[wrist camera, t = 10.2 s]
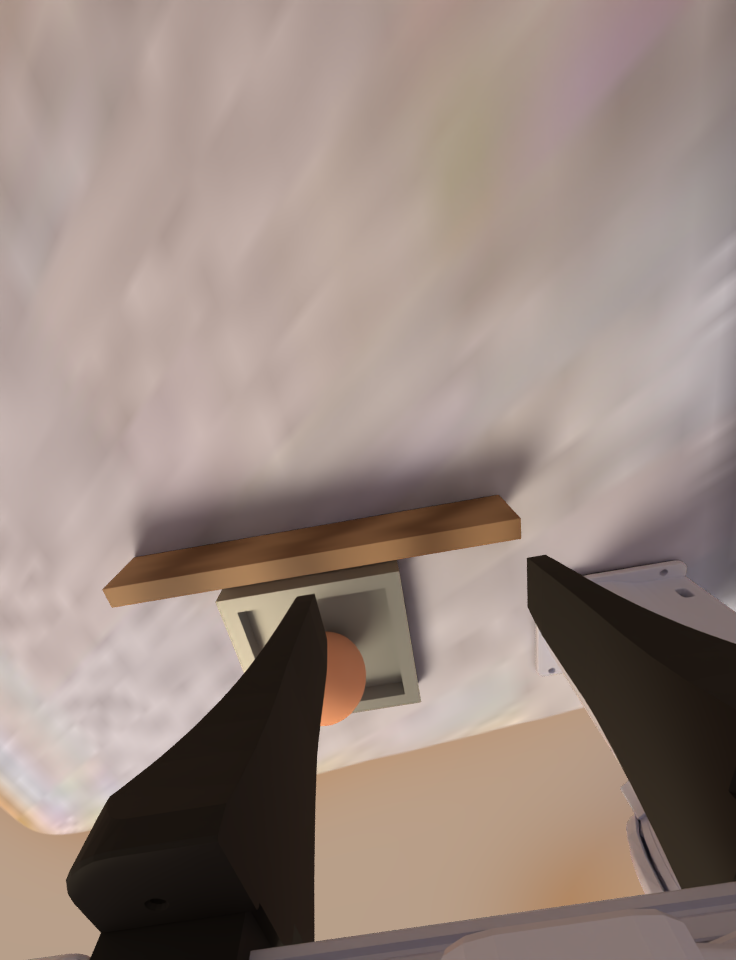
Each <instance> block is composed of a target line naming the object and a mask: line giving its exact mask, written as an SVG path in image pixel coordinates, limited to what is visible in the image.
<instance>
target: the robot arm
mask: <svg viewBox="0 0 736 960" xmlns="http://www.w3.org/2000/svg"><path fill="white" fill-rule="evenodd" d="M661 570H662V571H661ZM660 571H661V572H660ZM686 571H687V565H686V564H685V563H683V562H682V561H680V560H675V561H669V562H663V563H657V564H651V565H645V566H639V567H633V568H627V569H621V570H615V571H609V572H603V573H597V574H591V575H584V576H582V575H580V574H579V573H577V572H575V571H573V570H572V569H570V568H568V567H566V566H565V565H563V564H561V563H559V562H558V561H556V560H554V559H552V558H550V557H548V556H547V555H542V556H536V557H530V558H527V594H528V609H529V611H530V613H531V615H532V617H533V619H534V621H535V656H536V671H537V673H538V675H539V676H550V675H557V674H564V676H565V678H566V679H567V681H568V682H569V684H570V686H571V687H572V689H573V690H574V692H575V693H576V695H577V697H578V698H579V700H580V701H581V703H582V705H583V706H584V708H585V709H586V711H587V713H588V714H589V716H590V717H591V719H592V721H593V722H594V724H595V725H596V727H597V729H598V730H599V732H600V733H601V735H602V737H603V738H604V740H605V741H606V743H607V744H608V746H609V748H610V749H611V751H612V753H613V754H614V756H615V757H616V759H617V761H618V762H619V764H620V765H621V767H622V769H623V770H624V772H625V774H626V776H627V778H628V781H627V782H626V783H625V784H624V785H622V786H621V788H620V789H621V791H622V793H623V795H624V796H625V798H626V799H627V801H628V803H629V804H630V806H631V808H632V810H633V811H634V813H635V814H634V815H632V816H631V817H630V818H629V820H628V821H627V827H626V830H627V838H628V842H629V846H630V853H631V858H632V862H633V865H634V868H635V871H636V874H637V876H638V878H639V881H640V884H641V886H642V888H643V890H644V892H645V895H638V896H631V897H624V898H617V899H610V900H603V901H596V902H589V903H582V904H575V905H568V906H561V907H554V908H547V909H540V910H533V911H526V912H519V913H512V914H505V915H498V916H491V917H485V918H477V919H470V920H463V921H456V922H449V923H442V924H435V925H428V926H421V927H414V928H407V929H400V930H393V931H386V932H379V933H372V934H365V935H358V936H351V937H344V938H338V939H330V940H323V941H316V942H314V854H315V850H314V849H315V796H316V770H317V751H318V740H319V732H320V724H321V716H322V708H323V700H324V692H325V684H326V676H327V636H326V633H325V629H324V626H323V622H322V618H321V615H320V611H319V608H318V604H317V600H316V597H315V593H314V594H309V595H303V596H297V597H296V598H295V600H294V601H293V603H292V605H291V606H290V608H289V609H288V611H287V613H286V614H285V616H284V617H283V619H282V620H281V622H280V624H279V625H278V627H277V628H276V630H275V631H274V633H273V634H272V636H271V637H270V639H269V640H268V642H267V643H266V645H265V646H264V647H263V649H262V650H261V652H260V653H259V654H258V656H257V657H256V658H255V660H254V661H253V662H252V664H251V665H250V666H249V668H248V669H247V670H246V671H245V673H244V674H243V675H242V676H241V678H240V679H239V680H238V681H237V683H236V684H235V685H234V686H233V687H232V688H231V689H230V691H229V692H228V693H227V694H226V695H225V696H224V697H223V698H222V699H221V700H220V701H219V702H218V703H217V704H216V705H215V707H214V708H213V709H212V710H211V711H210V712H209V713H208V714H207V715H206V716H205V717H204V718H203V719H202V720H201V721H200V722H199V723H198V724H197V725H196V726H195V727H194V728H192V729H191V730H190V731H189V732H188V733H187V734H186V735H185V736H184V737H183V738H182V739H180V740H179V741H178V742H177V743H176V744H175V745H174V746H173V747H171V748H170V749H169V750H168V751H167V752H166V753H164V754H163V755H162V756H161V757H160V758H159V759H157V760H156V761H155V762H154V763H153V764H151V765H150V766H149V767H148V768H146V769H145V770H144V771H142V772H141V773H140V774H139V775H137V776H136V777H135V778H133V779H132V780H131V781H130V782H128V783H127V784H126V785H125V786H123V787H122V788H121V789H119V790H118V791H117V792H115V793H114V794H113V795H111V796H110V797H109V799H108V800H107V802H106V804H105V806H104V807H103V809H102V811H101V813H100V815H99V816H98V818H97V820H96V822H95V824H94V826H93V828H92V830H91V832H90V834H89V835H88V837H87V839H86V841H85V843H84V845H83V847H82V849H81V851H80V853H79V854H78V856H77V858H76V860H75V862H74V864H73V866H72V868H71V870H70V872H69V874H68V877H67V879H66V883H67V891H68V894H69V896H70V898H71V899H72V901H73V902H74V904H75V905H76V906H77V907H78V908H79V909H80V910H81V911H82V913H83V914H84V915H85V916H86V917H87V918H88V919H89V920H90V921H91V922H92V923H93V924H94V925H95V927H96V928H97V929H98V930H99V931H100V932H101V934H100V937H99V939H98V942H97V944H96V946H95V949H94V951H93V954H92V956H91V957H89V956H87V955H83V954H65V955H58V956H51V957H45V958H37V959H30V960H736V612H734V611H733V610H732V609H730V608H729V607H728V606H726V605H725V604H723V603H722V602H721V601H719V600H718V599H716V598H715V597H714V596H712V595H711V594H709V593H708V592H707V591H705V590H704V589H702V588H701V587H700V586H698V585H697V584H696V583H694V582H693V581H691V580H690V579H689V578H687V577H686Z"/></svg>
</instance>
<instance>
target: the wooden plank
mask: <svg viewBox="0 0 736 960" xmlns="http://www.w3.org/2000/svg"><path fill="white" fill-rule="evenodd" d="M516 539H521V518H520V517H519V516H518V515H517V514H516V513H515V512H514V511H513V510H512V509H511V507H510V506H509V505H508V504H507V503H506V502H505V501H504V500H503V499H502V498H501V497H500V496H499V495H495V496H489V497H483V498H477V499H471V500H466V501H460V502H454V503H448V504H442V505H437V506H431V507H425V508H419V509H413V510H408V511H402V512H396V513H390V514H384V515H378V516H373V517H367V518H361V519H355V520H349V521H344V522H338V523H332V524H326V525H320V526H314V527H309V528H303V529H297V530H291V531H285V532H280V533H274V534H268V535H262V536H256V537H251V538H245V539H239V540H233V541H227V542H221V543H216V544H210V545H204V546H198V547H192V548H187V549H181V550H175V551H169V552H163V553H158V554H152V555H146V556H140V557H134V558H133V559H132V560H131V561H130V562H129V563H128V564H127V565H126V566H125V567H124V568H123V569H122V570H121V571H120V572H119V573H118V574H117V575H116V576H115V577H114V578H113V579H112V580H111V581H110V582H109V583H108V584H107V585H106V586H105V587H104V588H103V589H102V590H103V592H104V594H105V596H106V597H107V599H108V601H109V603H110V605H111V607H112V608H113V607H119V606H125V605H131V604H137V603H143V602H149V601H155V600H161V599H167V598H172V597H178V596H184V595H190V594H196V593H202V592H208V591H214V590H220V589H226V588H232V587H238V586H244V585H250V584H255V583H261V582H267V581H273V580H279V579H285V578H291V577H297V576H303V575H309V574H315V573H321V572H327V571H333V570H338V569H344V568H350V567H356V566H362V565H368V564H374V563H380V562H386V561H392V560H398V559H404V558H410V557H415V556H421V555H427V554H433V553H439V552H445V551H451V550H457V549H463V548H469V547H475V546H481V545H487V544H493V543H498V542H504V541H510V540H516Z"/></svg>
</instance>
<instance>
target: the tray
mask: <svg viewBox="0 0 736 960" xmlns="http://www.w3.org/2000/svg"><path fill="white" fill-rule="evenodd" d="M314 593H315V597H316V600H317V604H318V608H319V611H320V615H321V618H322V622H323V626H324V629H325V632H335V633H338V634H341V635H343V636H345V637H347V638H348V639H349V640H351V641H352V642H353V643H354V644H355V646H356V647H357V648H358V650H359V651H360V653H361V655H362V657H363V660H364V664H365V669H366V684H365V689H364V692H363V695H362V698H361V700H360V702H359V704H358V705H357V707H356V708H355V709H354V711H353V712H352V713H356V712H362V711H369V710H375V709H381V708H388V707H394V706H400V705H407V704H413V703H419V702H421V699H420V693H419V687H418V681H417V675H416V669H415V663H414V657H413V651H412V645H411V639H410V633H409V627H408V621H407V615H406V609H405V603H404V597H403V591H402V585H401V579H400V573H399V568H398V563H397V560H392V561H386V562H380V563H374V564H368V565H362V566H356V567H350V568H344V569H338V570H333V571H327V572H321V573H315V574H309V575H303V576H297V577H291V578H285V579H279V580H273V581H267V582H261V583H255V584H250V585H244V586H238V587H232V588H226V589H222V591H221V593H220V595H219V597H218V599H217V600H216V604H217V607H218V609H219V612H220V614H221V617H222V619H223V621H224V624H225V626H226V629H227V631H228V634H229V636H230V639H231V641H232V644H233V646H234V649H235V651H236V654H237V656H238V659H239V661H240V664H241V666H242V669H243V671H244V673H245V671H246V670H247V669H248V668H249V666H250V665H251V664H252V662H253V661H254V660H255V658H256V657H257V656H258V654H259V653H260V652H261V650H262V649H263V647H264V646H265V645H266V643H267V642H268V640H269V639H270V637H271V636H272V634H273V633H274V631H275V630H276V628H277V627H278V625H279V624H280V622H281V620H282V619H283V617H284V616H285V614H286V613H287V611H288V609H289V608H290V606H291V605H292V603H293V601H294V600H295V598H296V597H297V596H303V595H309V594H314Z"/></svg>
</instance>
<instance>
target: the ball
mask: <svg viewBox="0 0 736 960" xmlns="http://www.w3.org/2000/svg"><path fill="white" fill-rule="evenodd" d="M325 633H326V636H327V676H326V684H325V692H324V700H323V708H322V716H321V724H320V726H328V725H332V724H335V723H338V722H340V721H342V720H343V719H345V718H346V717H347V716H349V715H350V714H351V713H352V712H353V711H354V709H355V708H356V707H357V705H358V704H359V702H360V700H361V698H362V695H363V692H364V689H365V684H366V669H365V664H364V660H363V657H362V655H361V653H360V651H359V650H358V648H357V647H356V646H355V644H354V643H353V642H352V641H351V640H349V639H348V638H347V637H345V636H343V635H341V634H338V633H335V632H325Z"/></svg>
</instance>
